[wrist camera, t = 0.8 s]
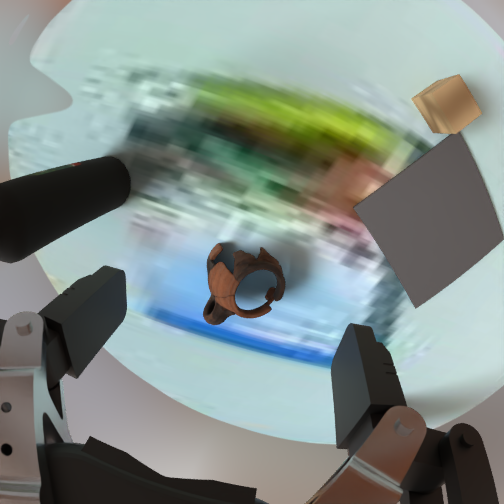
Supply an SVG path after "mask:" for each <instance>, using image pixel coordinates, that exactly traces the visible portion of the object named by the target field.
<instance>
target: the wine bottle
mask: <svg viewBox="0 0 504 504" xmlns="http://www.w3.org/2000/svg"><path fill="white" fill-rule="evenodd" d="M129 192H130V176H129V172H128V170H127V169H126V167H125V165H124V164H123V163H122V162H121V161H120V160H119V159H116V158H114V157H101V158H96V159H91V160H86V161H81V162H77V163H72V164H68V165H64V166H60V167H56V168H52V169H48V170H44V171H40V172H36V173H33V174H29V175H26V176H22V177H19V178H15V179H12V180H9V181H6V182H3V183H0V261H3V262H7V263H13V262H17V261H20V260H22V259H24V258H26V257H27V256H29V255H31V254H32V253H34V252H36V251H37V250H39V249H41V248H43V247H44V246H46V245H48V244H49V243H51V242H53V241H55V240H56V239H58V238H60V237H62V236H64V235H65V234H67V233H69V232H71V231H73V230H75V229H77V228H78V227H80V226H82V225H84V224H86V223H88V222H90V221H92V220H94V219H96V218H98V217H100V216H102V215H104V214H106V213H108V212H110V211H112V210H114V209H116V208H118V207H119V206H121V205H122V204H123V203H124V202H125V201H126V199H127V198H128V195H129Z"/></svg>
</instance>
